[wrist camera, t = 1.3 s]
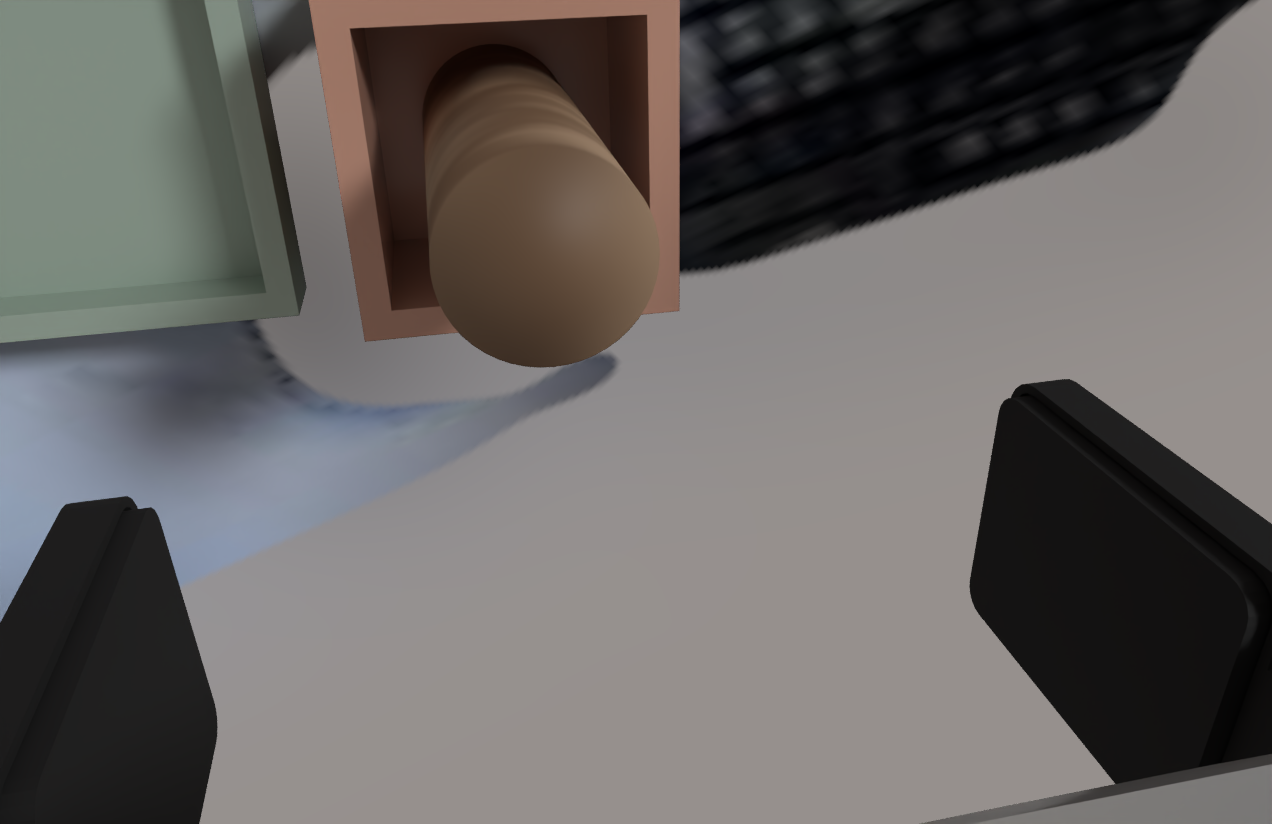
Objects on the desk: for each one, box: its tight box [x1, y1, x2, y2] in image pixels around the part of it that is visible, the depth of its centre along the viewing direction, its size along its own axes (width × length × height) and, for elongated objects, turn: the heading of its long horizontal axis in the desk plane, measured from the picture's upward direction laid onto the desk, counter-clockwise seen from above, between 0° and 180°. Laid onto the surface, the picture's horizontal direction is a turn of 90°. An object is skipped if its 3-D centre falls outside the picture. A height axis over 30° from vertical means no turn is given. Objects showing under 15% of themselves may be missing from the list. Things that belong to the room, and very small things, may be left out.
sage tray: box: [0, 0, 306, 343], centre depth 27 cm, size 13×12×2 cm
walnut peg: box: [422, 44, 660, 367], centre depth 24 cm, size 4×4×13 cm
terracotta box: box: [309, 0, 680, 342], centre depth 28 cm, size 9×9×6 cm
